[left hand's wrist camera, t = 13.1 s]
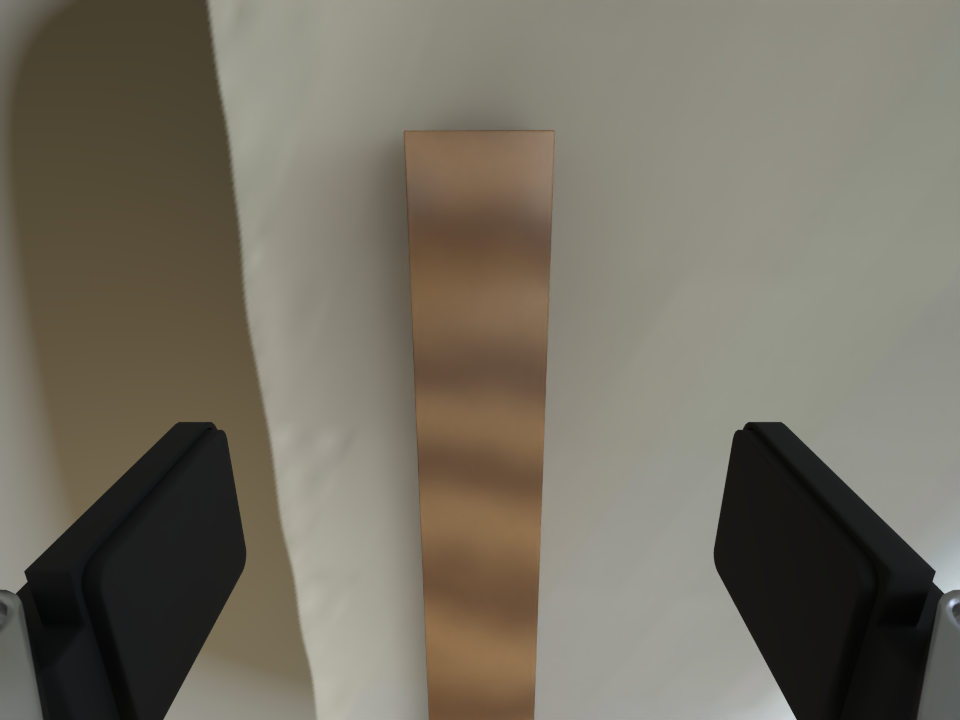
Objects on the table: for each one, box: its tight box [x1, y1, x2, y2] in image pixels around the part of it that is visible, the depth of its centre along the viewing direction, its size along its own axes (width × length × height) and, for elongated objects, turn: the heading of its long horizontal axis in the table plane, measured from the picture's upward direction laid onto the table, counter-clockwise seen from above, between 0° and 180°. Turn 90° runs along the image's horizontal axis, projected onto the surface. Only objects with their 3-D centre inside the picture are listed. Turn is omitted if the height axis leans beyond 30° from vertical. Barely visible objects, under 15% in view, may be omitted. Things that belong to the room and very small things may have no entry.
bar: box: [404, 130, 555, 720], centre depth 35 cm, size 62×5×8 cm, turn 0°
